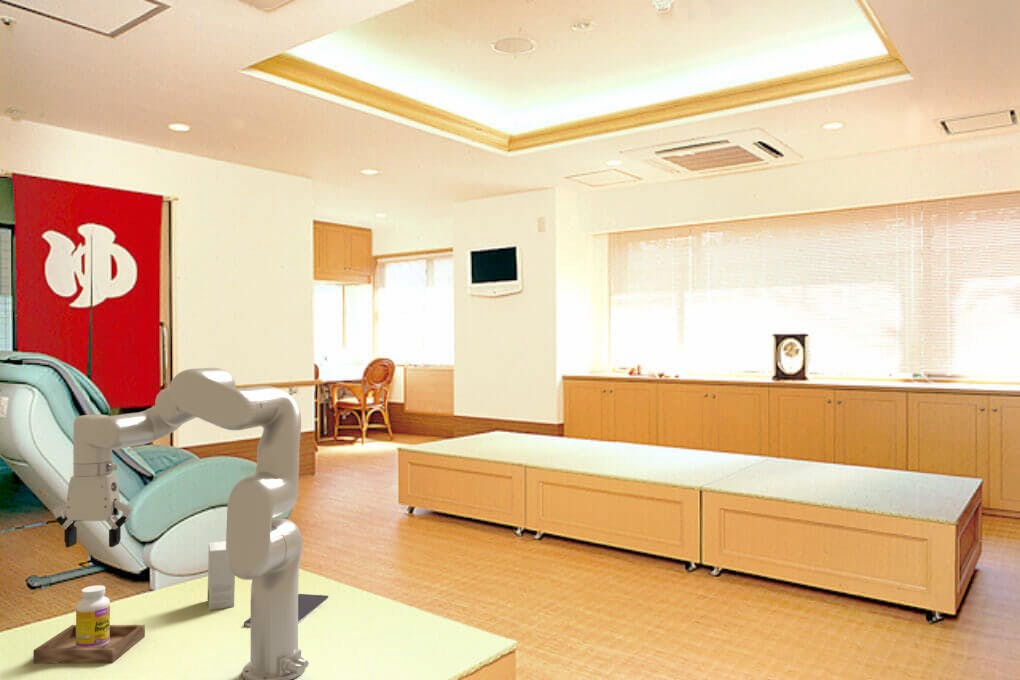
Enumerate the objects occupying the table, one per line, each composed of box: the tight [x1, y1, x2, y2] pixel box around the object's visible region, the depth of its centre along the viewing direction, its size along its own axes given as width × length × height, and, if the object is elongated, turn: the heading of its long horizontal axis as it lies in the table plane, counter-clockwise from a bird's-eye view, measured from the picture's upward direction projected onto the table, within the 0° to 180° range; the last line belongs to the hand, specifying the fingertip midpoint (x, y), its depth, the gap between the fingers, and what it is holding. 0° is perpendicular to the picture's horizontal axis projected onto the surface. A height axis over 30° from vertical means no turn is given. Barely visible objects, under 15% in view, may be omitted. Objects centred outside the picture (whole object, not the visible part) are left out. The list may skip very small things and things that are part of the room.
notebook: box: [243, 593, 329, 627], centre depth 187 cm, size 13×2×21 cm
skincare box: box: [207, 540, 236, 611], centre depth 193 cm, size 8×7×16 cm
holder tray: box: [32, 624, 146, 664], centre depth 164 cm, size 17×14×3 cm
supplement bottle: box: [75, 584, 111, 648], centre depth 164 cm, size 7×7×13 cm
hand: (92, 545), depth 164 cm, fingers open, 9 cm apart
